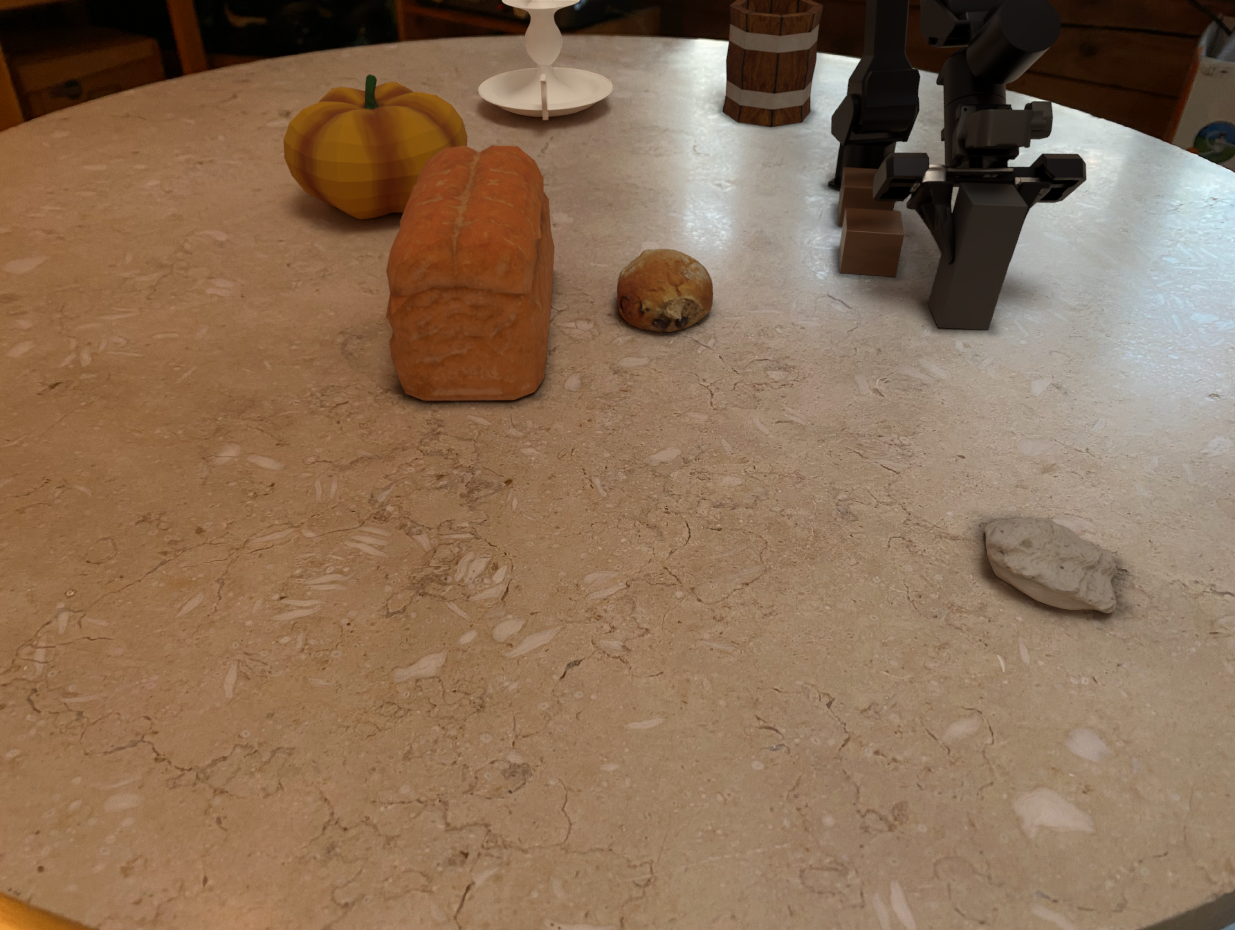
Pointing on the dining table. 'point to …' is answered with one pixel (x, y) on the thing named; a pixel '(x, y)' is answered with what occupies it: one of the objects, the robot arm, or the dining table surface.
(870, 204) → the block
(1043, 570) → the stone
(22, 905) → the dining table surface
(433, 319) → the bread
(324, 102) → the decorative pumpkin
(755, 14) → the mug
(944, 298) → the tall block
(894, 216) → the block
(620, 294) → the bread roll
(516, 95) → the candlestick
